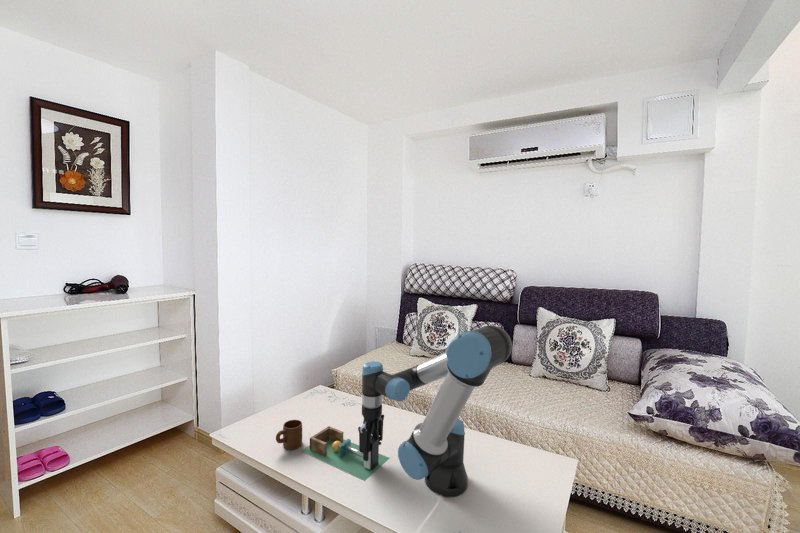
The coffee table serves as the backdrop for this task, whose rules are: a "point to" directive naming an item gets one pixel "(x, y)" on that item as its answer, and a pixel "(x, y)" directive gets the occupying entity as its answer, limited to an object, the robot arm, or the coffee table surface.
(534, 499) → the coffee table surface
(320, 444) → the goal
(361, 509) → the coffee table surface
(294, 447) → the mug
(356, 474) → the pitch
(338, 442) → the ball
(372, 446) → the rod
